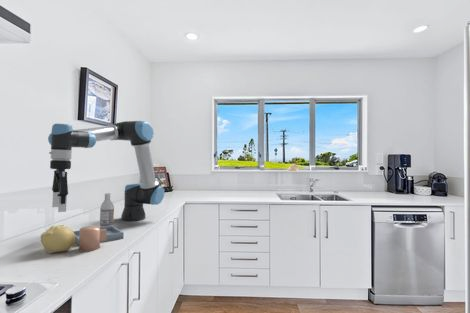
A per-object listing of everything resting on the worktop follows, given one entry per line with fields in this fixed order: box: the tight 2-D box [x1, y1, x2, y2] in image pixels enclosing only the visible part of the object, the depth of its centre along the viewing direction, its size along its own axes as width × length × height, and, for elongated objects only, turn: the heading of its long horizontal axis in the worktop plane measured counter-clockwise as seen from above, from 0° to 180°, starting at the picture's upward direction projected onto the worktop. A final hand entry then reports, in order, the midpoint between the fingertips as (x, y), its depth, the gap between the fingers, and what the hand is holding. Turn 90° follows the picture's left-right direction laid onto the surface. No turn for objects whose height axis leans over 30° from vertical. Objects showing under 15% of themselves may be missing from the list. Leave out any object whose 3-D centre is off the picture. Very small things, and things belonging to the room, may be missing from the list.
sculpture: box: [40, 224, 75, 254], centre depth 118 cm, size 12×12×11 cm
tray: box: [72, 225, 125, 247], centre depth 136 cm, size 20×16×3 cm
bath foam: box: [99, 192, 115, 228], centre depth 154 cm, size 7×7×20 cm
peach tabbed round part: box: [78, 225, 107, 252], centre depth 122 cm, size 8×11×9 cm
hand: (58, 209), depth 118 cm, fingers open, 13 cm apart
